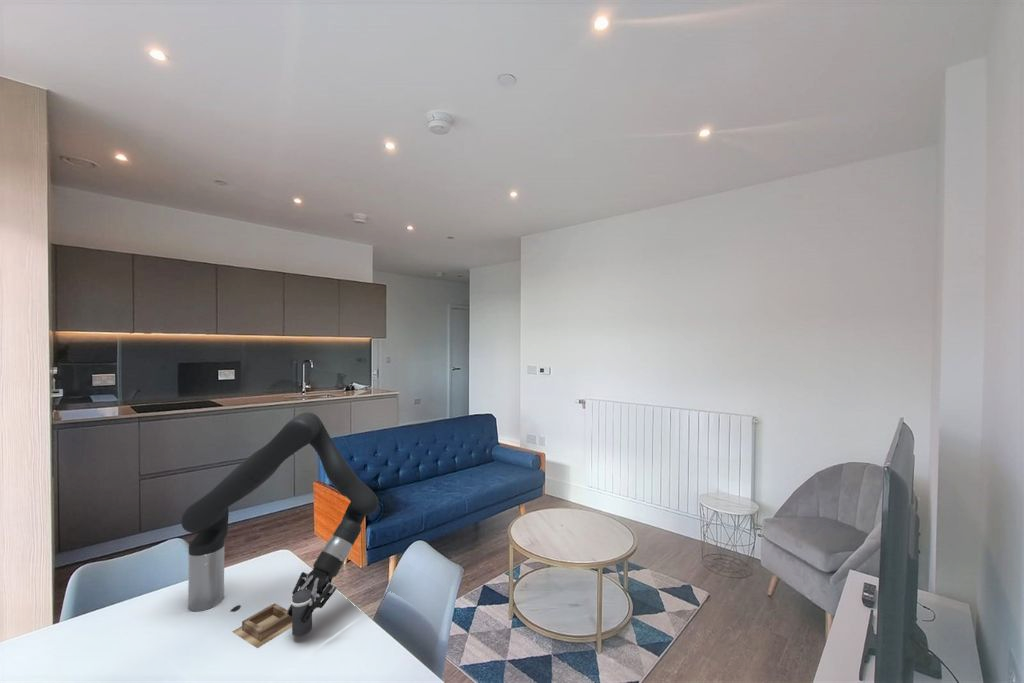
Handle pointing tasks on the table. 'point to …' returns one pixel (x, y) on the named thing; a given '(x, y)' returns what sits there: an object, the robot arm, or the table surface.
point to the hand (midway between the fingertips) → (296, 618)
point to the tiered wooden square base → (264, 625)
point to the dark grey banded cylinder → (300, 612)
